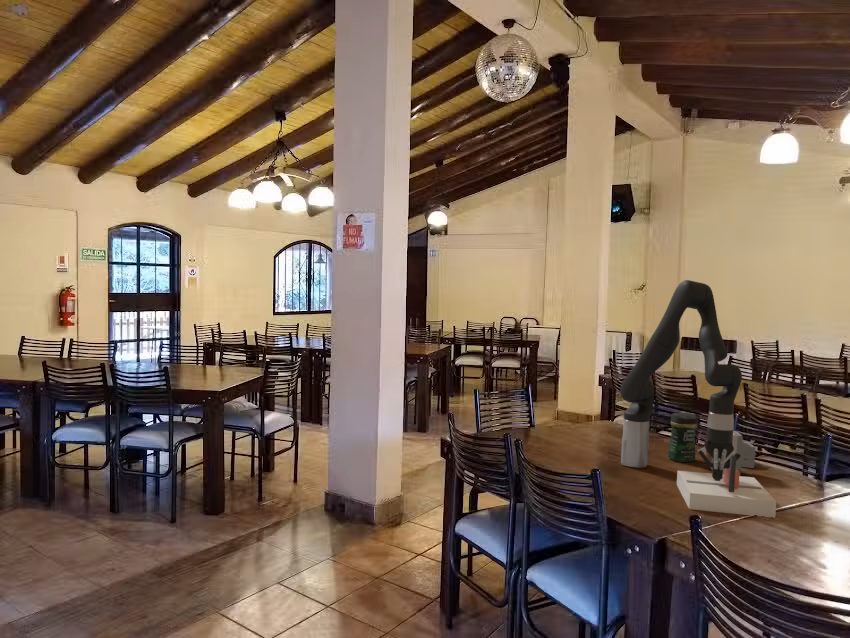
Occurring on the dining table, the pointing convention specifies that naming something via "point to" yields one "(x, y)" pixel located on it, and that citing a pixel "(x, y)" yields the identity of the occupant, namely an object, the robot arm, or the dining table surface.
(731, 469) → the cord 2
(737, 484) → the block
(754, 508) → the board
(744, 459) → the circuit breaker
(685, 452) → the coffee jar
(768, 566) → the dining table surface
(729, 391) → the robot arm
